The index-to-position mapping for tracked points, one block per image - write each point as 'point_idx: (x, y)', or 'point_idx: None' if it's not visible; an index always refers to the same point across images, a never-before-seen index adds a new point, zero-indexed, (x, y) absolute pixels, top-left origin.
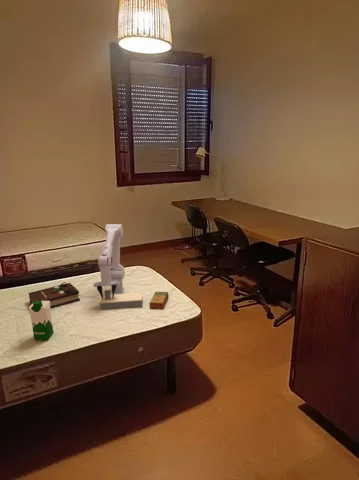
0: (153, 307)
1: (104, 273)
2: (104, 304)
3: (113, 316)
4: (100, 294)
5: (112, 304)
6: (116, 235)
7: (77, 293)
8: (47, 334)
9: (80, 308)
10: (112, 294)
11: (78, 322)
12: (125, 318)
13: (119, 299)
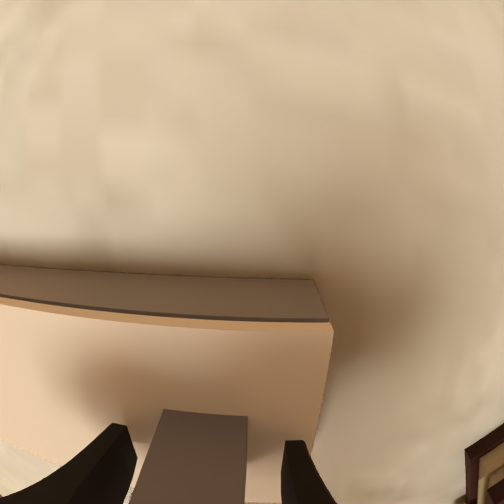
0: None
1: None
2: (253, 310)
3: (128, 62)
4: (327, 492)
5: (129, 300)
6: None
7: (501, 485)
8: None
9: (500, 332)
10: (98, 459)
11: (500, 32)
12: (25, 35)
13: (36, 362)
